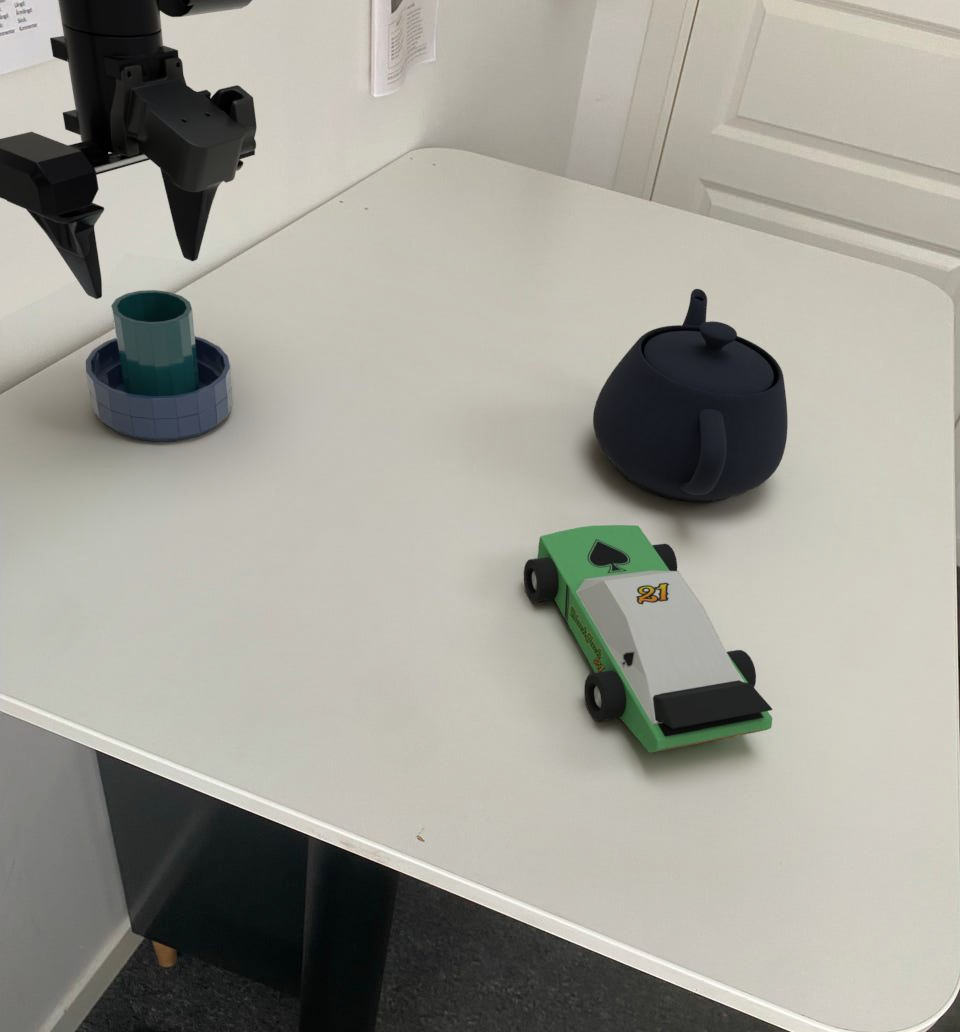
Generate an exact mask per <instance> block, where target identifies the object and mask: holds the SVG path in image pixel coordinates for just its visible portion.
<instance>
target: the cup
mask: <svg viewBox="0 0 960 1032" xmlns="http://www.w3.org/2000/svg"><path fill="white" fill-rule="evenodd" d="M111 312H112V318H113V325H114V333H115V338H116V339H117V345H118V352H119V358H120V365H121V371H122V378H123V384H124V391H125V392H126V393H129V394H136V395H144V396H174V395H179V394H184V393H189V392H193V391H196V390H198V389H200V387H199V377H198V366H197V356H196V345H195V336H196V334H195V326H194V325H195V324H194V315H193V314H194V313H193V307H192V304H191V302H190V301H189V300H188V299H187V298H185V297H184V296H182V295H180V294H176V293H174V292H171V291H167V290H156V289H147V290H137V291H133V292H128V293H124V294H122V295H121V296H119V297H117V298H115V299H114V301H113V302H112V304H111Z"/></svg>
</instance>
